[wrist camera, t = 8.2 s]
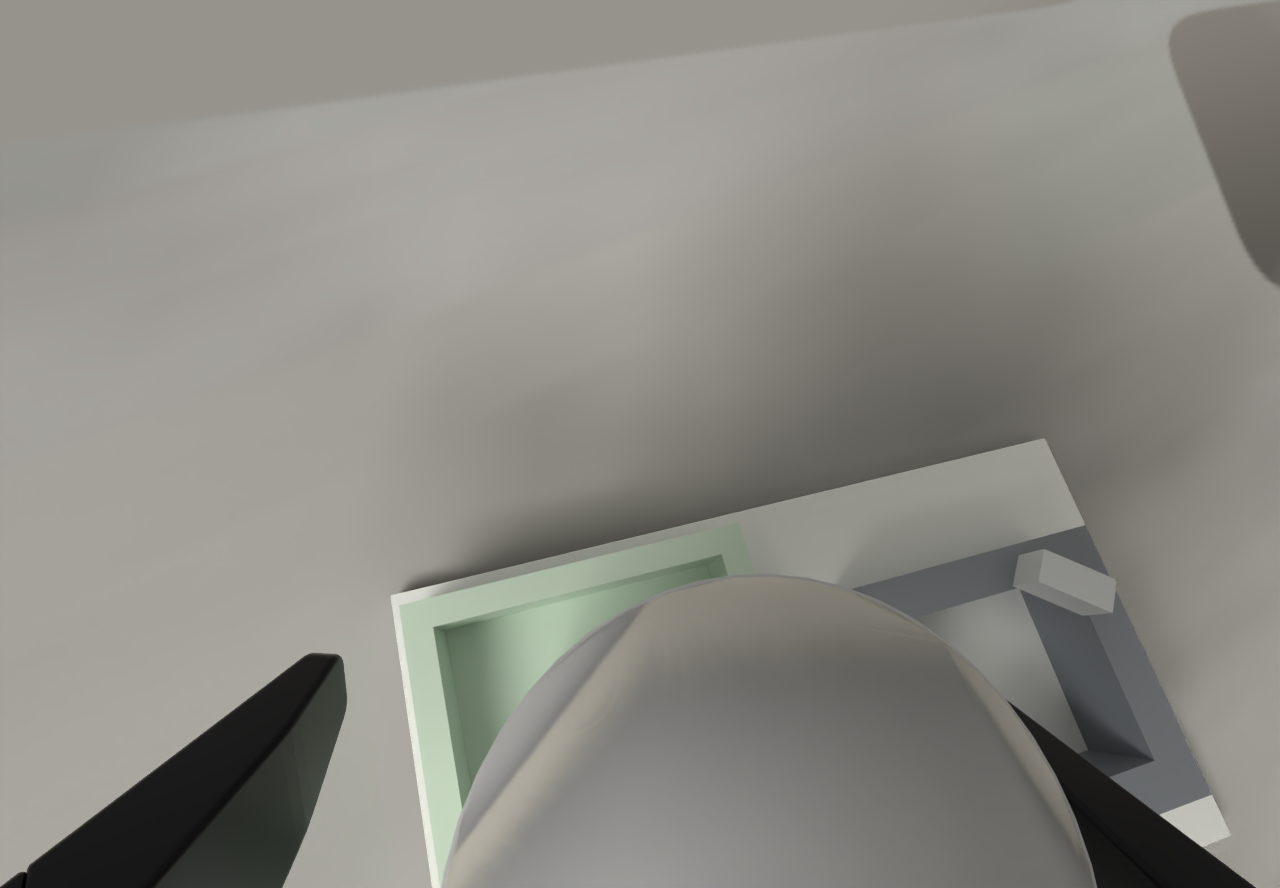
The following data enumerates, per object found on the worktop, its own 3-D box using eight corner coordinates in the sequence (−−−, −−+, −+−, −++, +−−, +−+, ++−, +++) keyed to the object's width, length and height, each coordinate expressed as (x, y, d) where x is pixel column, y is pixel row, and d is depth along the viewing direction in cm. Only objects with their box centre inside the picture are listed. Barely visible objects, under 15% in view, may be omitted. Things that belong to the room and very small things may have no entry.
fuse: (594, 855, 16) (741, 1701, 3) (504, 712, 17) (292, 849, 4) (720, 745, 17) (1242, 984, 4) (630, 617, 18) (813, 462, 5)
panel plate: (472, 1121, 15) (468, 1140, 14) (395, 597, 18) (390, 595, 18) (1211, 830, 19) (1231, 835, 18) (1032, 443, 22) (1044, 437, 21)
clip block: (907, 854, 17) (994, 902, 14) (821, 597, 19) (878, 581, 16) (1121, 776, 19) (1251, 802, 15) (1019, 543, 21) (1114, 517, 17)
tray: (478, 979, 16) (461, 1037, 13) (421, 613, 18) (398, 605, 16) (811, 860, 17) (853, 893, 15) (716, 540, 20) (738, 522, 17)
